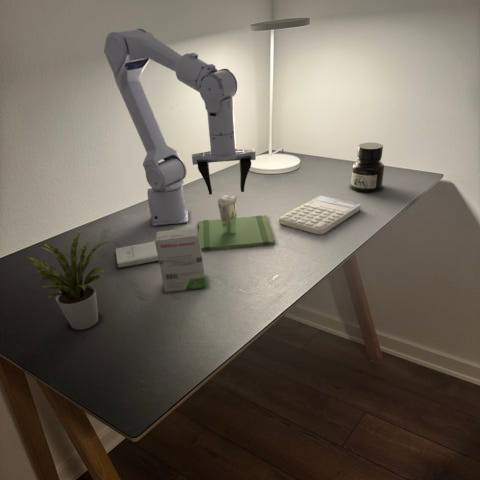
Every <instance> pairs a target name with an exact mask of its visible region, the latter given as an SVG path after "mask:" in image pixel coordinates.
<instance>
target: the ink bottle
mask: <svg viewBox="0 0 480 480" xmlns="http://www.w3.org/2000/svg"><path fill="white" fill-rule="evenodd" d="M383 149H384V145H383V144H382V143H378V142H362V143H359V144H358V146H357V152H356V153H357V154H356V155H357V156H356V159H357V160H356V161H355V162H354V163H352V170H351V181H350V188H351V189H353V190H355V191H358V192H363V193H372V192H377V191H379V190H380V189H381V188H382V187H383V181H384V173H385V164H384V163H383V162H382V161H381V160H382V157H383Z"/></svg>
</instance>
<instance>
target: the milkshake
mask: <svg viewBox="0 0 480 480" xmlns="http://www.w3.org/2000/svg"><path fill="white" fill-rule="evenodd" d="M238 196H239V195H235V196H234V195H222V196H221V197H219V199H218V200H217V206H218V211H219V216H220V219H221V223H222V229H223V233H224V234H226V235H232V234H235V233H236V218H237V210H238V209H237V208H238V207H237V205H238V200H237V198H238Z"/></svg>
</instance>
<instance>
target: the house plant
mask: <svg viewBox="0 0 480 480" xmlns="http://www.w3.org/2000/svg"><path fill="white" fill-rule="evenodd" d="M80 235H81V232H79V233H78V234H76V236H75V237H74V238H73V241H72V243H71V247H70V254H69V258H70V264H69V262H68V260H67V257H66V256H65V254H64V253H63V252H62V251H61V250H60V249H59V248H58V247H55V246H52V245H51V244H49V243H47V242H44V241H42V244H43V245H44V246H45V247H47V248H45V247H43V246H41V248H42V249H44V250H46V251H48V252H50V253H51V254H53V255H54V256H55V258H56V259H57V262H58V264H59V265H60V266H61V268H62V271H63V272H64V275H63V274H62V273H60V272H58V270H57V269H55V268H54V267H53V266H52V265H51V264H49V263H48V262H46V261H44V260H41V259H39V258H36V257H33V256H25V258H27V259H30V260H32V261H31V263H32V264H33V265H34V266H35V268H36V269H37V271H35V272H33V274H35V273H37V272H38V273H39V274H40V275H42V276H40V277H39V280H47V281H49V282H50V283H52V284H50V285H49V284H48V285H44V286H39V288H40V289H51V290H59V292H56V291H55V292H51V293H50V294H49V296H48V297H47V300H49V299H50V298H55V302H56V303H57V305H58V306H59V309H60V310H61V311H62V313H63V315H64V317H65V318H66V320H67V322H68V323H69V326H70V327H71V328H72V329H73V330H86V329H90V328H91V327H94V326H95V325H96V324H97V323H98V322H99V309H98V300H97V291H96V287H94V285H92V284H90V283H92V282H94V281H97V280H99V279H102V278H104V279H105V277H104V276H102V275H98V274H99V273H101V272H104V273H105V271H104V270H103V269H102V268H99V267H94V268H93V269H91V270H90V271H89V272H88V273H87V275H86V276H85V279H84V278H83V277H84V272H85V270H86V269H87V267H88V265H89V264H90V262H91V261H92V260H93V257H91V256H92V255H93V254H94V253H95V252H96V251H97V250H98V249H99V248H100V247H102V246H103V245H106V244H108V243H110V242H111V241H110V240H109V241H104V242H100V243H98V244H97V245H95V246H94V247H93V248H91V250H89V252H88V253H87V254H86V251H87V248H88V247H87V246H89V245H88V244H89V242H86V243H85V244H84V245H83V246H82V247H81V248H80V249H79V250H78V246H79V245H78V244H79V238H80ZM77 250H78V251H77ZM80 251H81V252H80ZM77 253H80V257H79V261H78V263H77V260H78V256H77ZM83 279H84V281H83Z"/></svg>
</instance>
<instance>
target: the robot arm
mask: <svg viewBox="0 0 480 480" xmlns="http://www.w3.org/2000/svg"><path fill="white" fill-rule="evenodd" d="M103 53H104V54H105V57H106V60H107V62H108V64H109V67H110V70H111V71H112V73H113V79H114V80H115V84H116V86H117V89H118V91H119V93H120V95H121V97H122V100H123V102H124V104H125V107H126V109H127V111H128V113H129V117H130V118H131V120H132V123H133V125H134V127H135V129H136V132H137V134H138V136H139V138H140V141H141V143H142V145H143V148H144V149H145V152H146V155H145V157H144V159H143V162H142V166H143V169H144V171H145V178H146V182H147V183H148V185H149V186H150V187H149V188H148V189H147V202H148V207H149V215H150V219H151V225H152V226H153V227H154V226H166V225H176V224H187V223H188V222H189V210H188V209H186V203H185V195H184V189H183V188H184V187H183V185H184V184H185V183H184V179H186V176H187V166H186V164H185V161H183V159H182V158H181V157H180V155H179V154H178V152H177V151H178V150H176V149H175V148H173V147H171V146H169V145H168V144H167V142H166V140H165V137H164V135H163V132H162V130H161V127H160V126H159V123H158V119H157V118H156V116H155V113H154V111H153V108H152V106H151V104H150V101H149V99H148V97H147V94H146V92H145V90H144V87H143V85H142V83H141V76H142V73H143V72H144V70H145V69H146V67H147V65H148V63H149V62H150V61H153V62H155V63H157V64H159V65H161V66H163V67H165V68H167V69H169V70H171V71H174V72H175V76H176V79H177V80H178V81H179V82H181V83H183V84H184V85H186V86H187V87H189V88H191V89H193V90H194V91H196V92H198V93H199V95H200V97H201V99H202V101H203V102H204V107H205V110H206V113H207V124H208V137H209V145H210V150H208V151H204V152H203V151H202V152H197V153H191V162H192V165H193V166H195V165H197V170H198V172H199V173H200V175H201V176H202V178H203V180H204V182H205V185H206V187H207V188H206V189H207V191H208V195H213V188H212V182H211V177H210V176H211V175H210V166H209V164H210V163H222V162H235V161H239V171H240V172H239V173H240V177H239V178H240V179H239V185H240V186H239V187H240V193H244V192H245V185H246V180H247V178H248V174H249V172H250V170H251V167H252V161H256V159H257V157H256V155H257V154H256V149H255V148H251V149H250V148H247V149H245V148H243V149H242V148H237V147H236V131H235V130H236V129H235V113H234V112H235V111H234V97H235V95H236V94H237V91H238V81H237V78H236V76H235V75H234V73H233V72H232V71H231V70H230V69H229V68H221V69H217V68H216V65H215V64H213V63H210V64H209V63H207V62H205V61H204V60H203V59H200V58H199V54H197V53H195V52H190V53H189V52H188V53H184V54H183V55H182V54H180V53H178V52H177V51H175V50H174V49H172V48H171V47H170V46H168V45H166V44H165V43H163V42H162V41H160V40H159V39H158V38H156V37H155V36H154V33H152V32H149V31H147V30H146V29H144V28H136V29H134V30H133V29H132V30H124V31H111V32H109V33H108V34H107V35H106V37H105V42H104V48H103ZM161 160H162V161H161Z"/></svg>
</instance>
